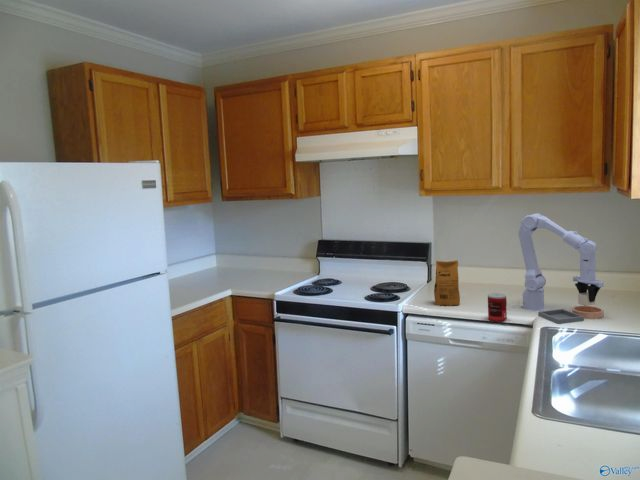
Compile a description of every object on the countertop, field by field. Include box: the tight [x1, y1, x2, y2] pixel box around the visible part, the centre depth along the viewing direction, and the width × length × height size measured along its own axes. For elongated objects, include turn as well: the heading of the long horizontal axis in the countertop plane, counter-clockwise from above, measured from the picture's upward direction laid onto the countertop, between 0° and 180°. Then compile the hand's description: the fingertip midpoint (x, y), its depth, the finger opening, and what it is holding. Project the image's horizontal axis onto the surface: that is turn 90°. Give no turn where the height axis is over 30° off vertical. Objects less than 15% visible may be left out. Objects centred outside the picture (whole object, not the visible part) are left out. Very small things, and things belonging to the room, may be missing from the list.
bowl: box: [571, 305, 605, 320], centre depth 208 cm, size 12×12×3 cm
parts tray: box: [537, 308, 585, 325], centre depth 205 cm, size 13×12×2 cm
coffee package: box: [433, 260, 461, 307], centre depth 241 cm, size 10×12×22 cm
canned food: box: [487, 292, 508, 323], centre depth 211 cm, size 8×8×11 cm
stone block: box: [577, 291, 596, 306], centre depth 207 cm, size 4×5×4 cm
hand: (587, 300), depth 207 cm, fingers closed on stone block, 4 cm apart
